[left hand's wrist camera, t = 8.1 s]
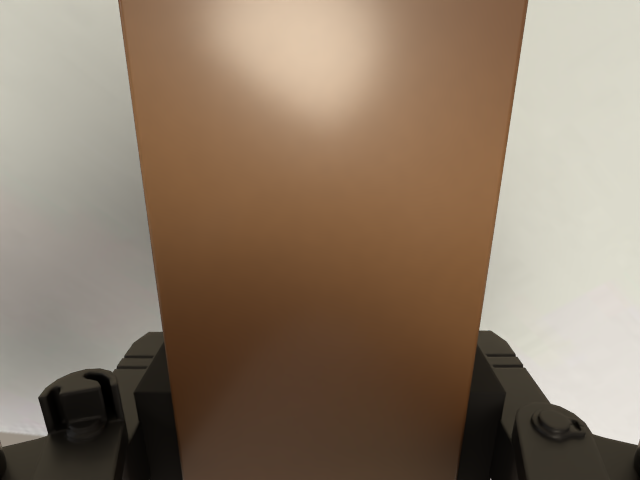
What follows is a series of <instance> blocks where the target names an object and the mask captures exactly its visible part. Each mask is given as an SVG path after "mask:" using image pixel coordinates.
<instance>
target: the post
mask: <svg viewBox="0 0 640 480" xmlns="http://www.w3.org/2000/svg"><path fill="white" fill-rule="evenodd" d="M118 2H119V10H120V17H121V24H122V32H123V39H124V47H125V54H126V62H127V69H128V76H129V84H130V91H131V99H132V106H133V114H134V121H135V128H136V136H137V143H138V151H139V158H140V165H141V173H142V180H143V188H144V195H145V203H146V210H147V217H148V225H149V232H150V240H151V247H152V255H153V262H154V269H155V277H156V284H157V292H158V299H159V306H160V314H161V321H162V329H163V336H164V344H165V351H166V358H167V366H168V373H169V381H170V388H171V396H172V403H173V410H174V418H175V425H176V433H177V440H178V447H179V455H180V462H181V470H182V477H183V480H457V475H458V468H459V461H460V454H461V448H462V441H463V434H464V428H465V421H466V414H467V408H468V401H469V394H470V387H471V381H472V374H473V367H474V361H475V354H476V347H477V341H478V334H479V327H480V320H481V314H482V307H483V300H484V294H485V287H486V280H487V274H488V267H489V260H490V253H491V247H492V240H493V233H494V227H495V220H496V213H497V207H498V200H499V193H500V186H501V180H502V173H503V166H504V160H505V153H506V146H507V140H508V133H509V126H510V119H511V113H512V106H513V99H514V93H515V86H516V79H517V73H518V66H519V59H520V52H521V46H522V39H523V32H524V26H525V19H526V12H527V6H528V0H118Z"/></svg>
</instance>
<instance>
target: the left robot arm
mask: <svg viewBox="0 0 640 480" xmlns="http://www.w3.org/2000/svg"><path fill="white" fill-rule="evenodd" d="M515 355H516V354H515V353H514V352H513V350H512V349H511V347H510V346H509V345H508V343H507V342H506V341H505V340H503V339H502V338H501V337H499V336H498V335H496V334H495V333H493V332H492V331H479V334H478V341H477V347H476V354H475V361H474V367H473V374H472V381H471V387H470V394H469V401H468V408H467V414H466V421H465V428H464V434H463V441H462V448H461V454H460V461H459V468H458V475H457V480H490V479H491V480H640V441H639V444H638V445H634V444H630V443H625V442H621V441H617V440H612V439H608V438H604V437H600V436H597V435H594V434H592V433H591V431H590V430H589V428H588V426H587V425H586V423H585V422H583V421H582V420H581V419H580V418H579V417H577V416H576V415H575V414H574V413H572V412H570V411H568V410H566V409H564V408H562V407H560V406H557V405H553V404H550V402H549V401H548V399H547V398H546V397H545V395H544V394H543V392H542V391H541V390H540V388H539V387H538V385H537V384H536V382H535V381H534V380H533V378H532V377H531V375H530V374H529V373H528V371H527V370H526V368H523V364H522V363H521V361H520V360H519V359H518V357H516V356H515ZM38 399H39V402H40V406H41V409H42V413H43V417H44V420H45V424H46V427H47V431H48V435H47V436H45V437H42V438H39V439H35V440H31V441H27V442H22V443H18V444H14V445H10V446H5V447H2V445H1V442H0V480H183V477H182V470H181V462H180V455H179V447H178V440H177V433H176V425H175V418H174V410H173V403H172V396H171V388H170V381H169V373H168V366H167V358H166V351H165V344H164V336H163V332H148V333H147V334H145V335H144V336H143V337H141V338H140V339H138V340H137V341H136V342H134V343H133V344H132V346H131V347H130V349H129V350H128V351H127V353H126V354H125V356H124V358H122V360H121V361H120V363H119V364H118V366H117V369H115V370H114V371H113V373H112V372H111V371H108V370H104V369H85V370H81V371H77V372H74V373H70V374H68V375H66V376H64V377H62V378H60V379H57V380H56V381H55V382H53V383H52V384H51V385H49V386H48V387H46V388H45V390H44V391H43V392H42V393H41V395H40V396H39V397H38Z"/></svg>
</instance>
